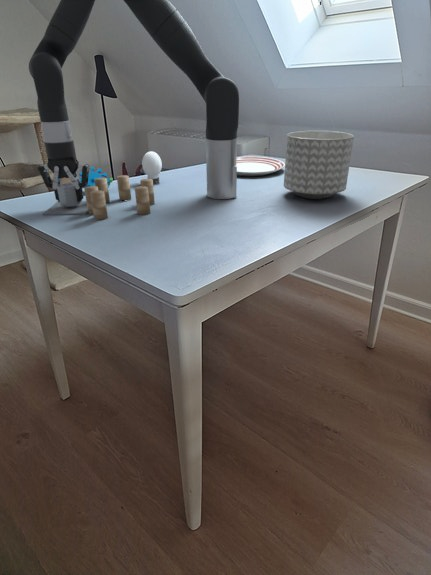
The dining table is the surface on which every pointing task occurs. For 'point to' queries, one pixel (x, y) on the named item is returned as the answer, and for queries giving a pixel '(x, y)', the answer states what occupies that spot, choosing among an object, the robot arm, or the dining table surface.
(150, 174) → the light bulb
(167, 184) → the dining table surface
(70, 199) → the grey block
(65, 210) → the mat
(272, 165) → the dinner plate
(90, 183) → the gear
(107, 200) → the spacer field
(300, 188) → the planter
